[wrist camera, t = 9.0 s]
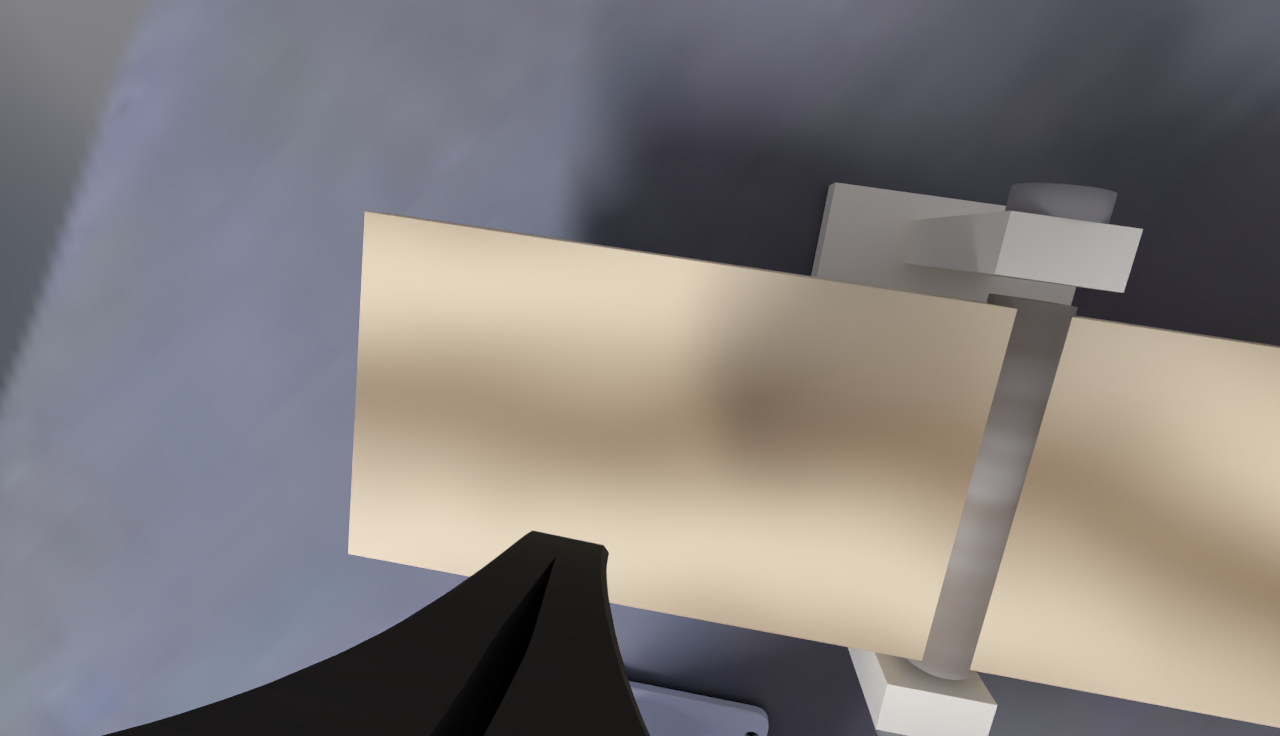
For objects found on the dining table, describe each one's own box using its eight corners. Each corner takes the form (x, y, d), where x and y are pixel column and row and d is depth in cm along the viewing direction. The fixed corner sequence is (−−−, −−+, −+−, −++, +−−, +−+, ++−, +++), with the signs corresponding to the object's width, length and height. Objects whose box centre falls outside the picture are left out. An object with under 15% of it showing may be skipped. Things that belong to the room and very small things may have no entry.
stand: (961, 620, 21) (1083, 801, 14) (750, 581, 21) (769, 738, 15) (1075, 219, 18) (1292, 208, 11) (829, 185, 19) (897, 154, 12)
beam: (1429, 682, 17) (1635, 808, 13) (414, 500, 19) (343, 565, 15) (1573, 378, 15) (1859, 423, 11) (435, 209, 17) (360, 201, 13)
